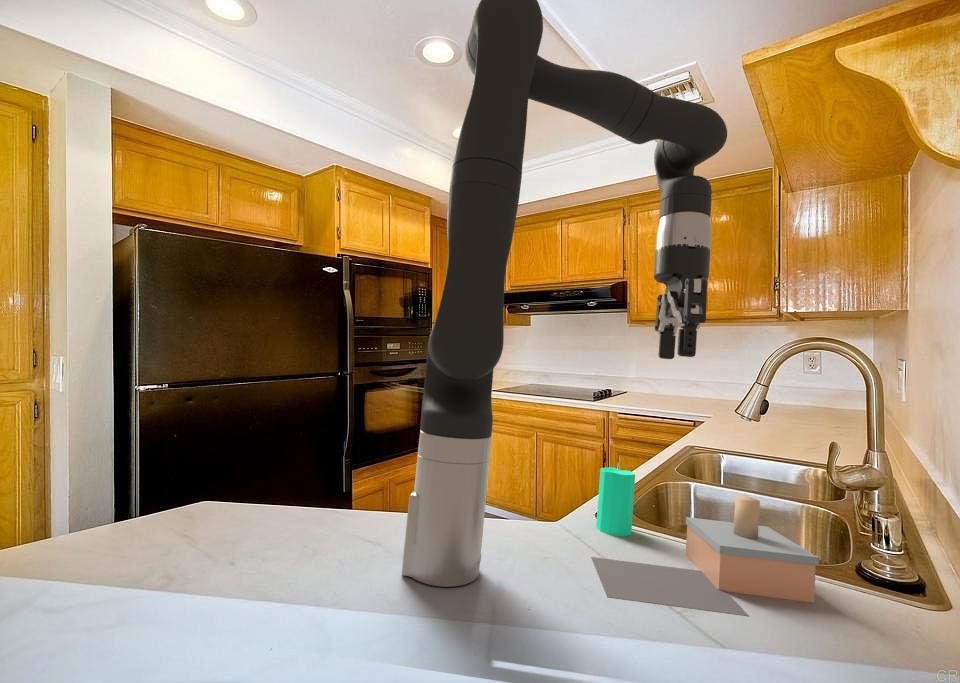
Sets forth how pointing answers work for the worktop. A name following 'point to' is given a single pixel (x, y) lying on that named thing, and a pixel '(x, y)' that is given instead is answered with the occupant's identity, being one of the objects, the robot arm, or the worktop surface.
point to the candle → (615, 501)
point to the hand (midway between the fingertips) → (675, 357)
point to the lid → (749, 536)
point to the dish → (751, 572)
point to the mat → (663, 586)
